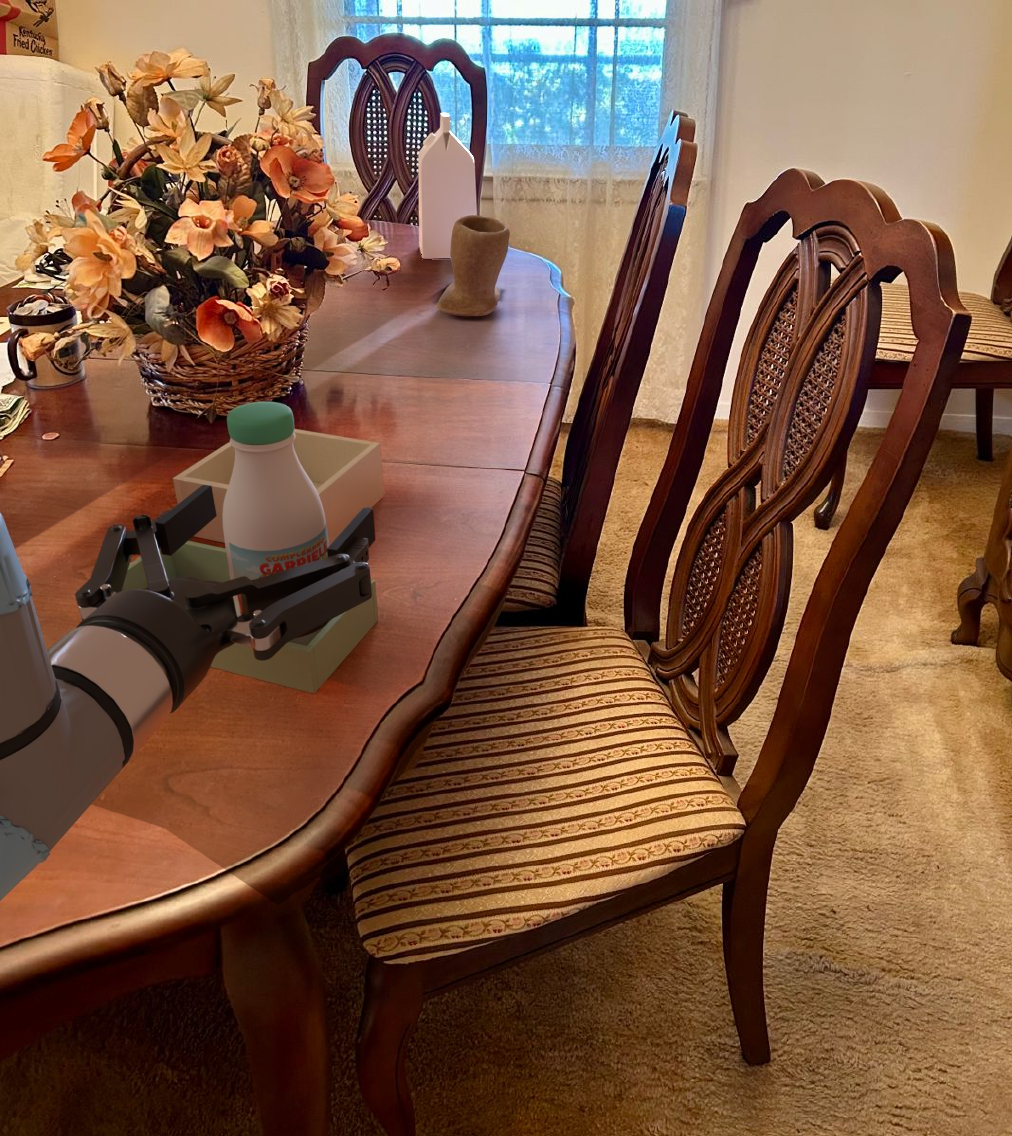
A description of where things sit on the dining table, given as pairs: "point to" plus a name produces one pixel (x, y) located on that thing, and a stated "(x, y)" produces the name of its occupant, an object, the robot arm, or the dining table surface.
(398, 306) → the dining table surface
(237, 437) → the milk bottle
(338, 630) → the green divided tray
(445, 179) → the milk
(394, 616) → the dining table surface
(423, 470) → the dining table surface
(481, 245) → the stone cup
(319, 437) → the cream square box
